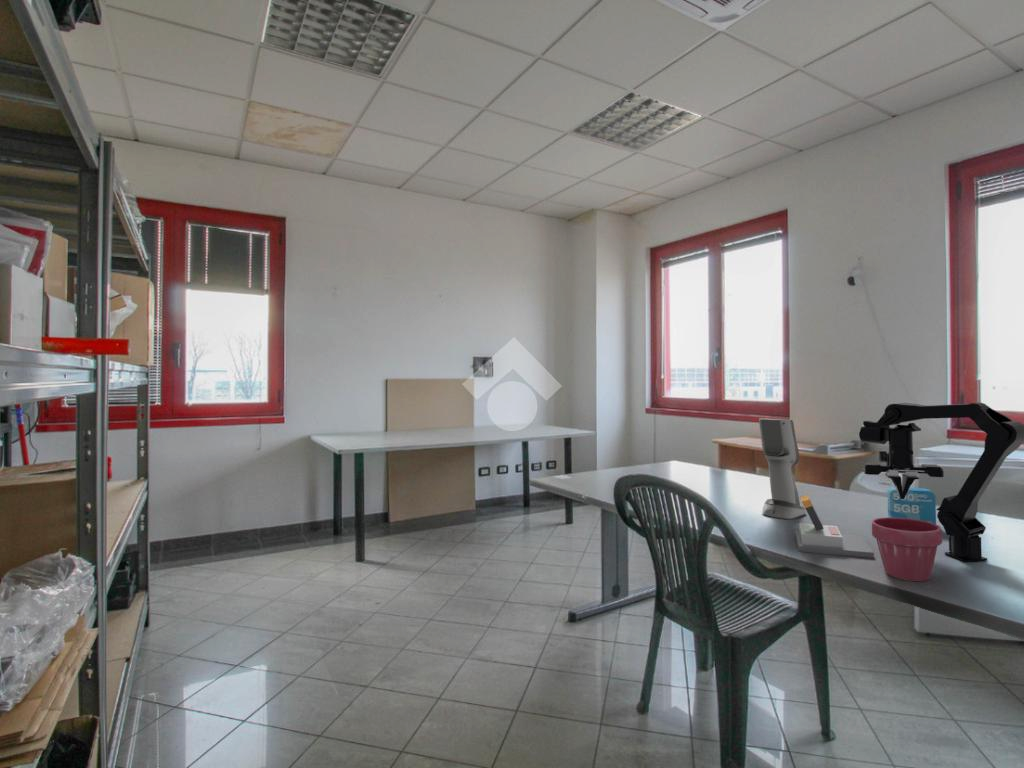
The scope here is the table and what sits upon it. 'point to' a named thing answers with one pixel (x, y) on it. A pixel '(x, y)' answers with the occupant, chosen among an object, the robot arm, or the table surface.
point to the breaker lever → (811, 512)
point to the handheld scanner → (781, 468)
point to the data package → (912, 504)
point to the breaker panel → (847, 549)
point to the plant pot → (907, 546)
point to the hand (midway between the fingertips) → (902, 498)
